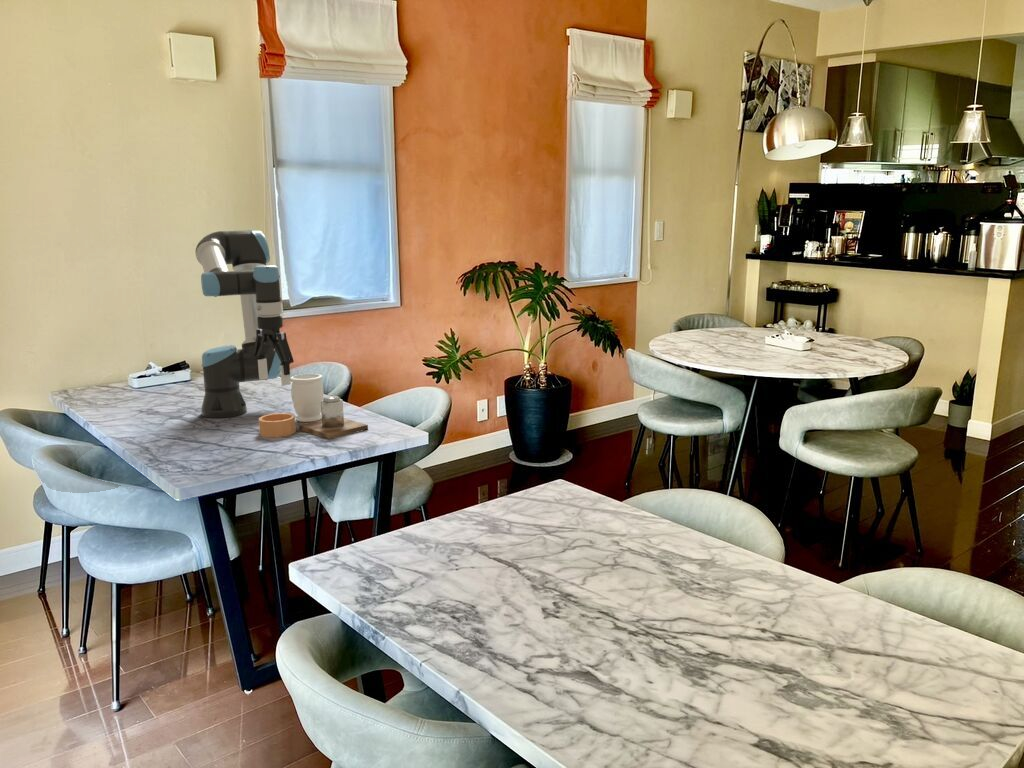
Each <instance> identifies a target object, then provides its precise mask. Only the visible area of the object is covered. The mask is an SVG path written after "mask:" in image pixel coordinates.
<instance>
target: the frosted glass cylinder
mask: <svg viewBox="0 0 1024 768" xmlns="http://www.w3.org/2000/svg"><path fill="white" fill-rule="evenodd" d="M320 415H321V416H322V419H321V420H322V426H323V427H326V428H336V427H341V426H343V425H344V418H345V417H344V416H345V415H344V400H343V399H341V397H340V396H338V395H330V396H325V397H323V400H322V401H321V413H320Z"/></svg>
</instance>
